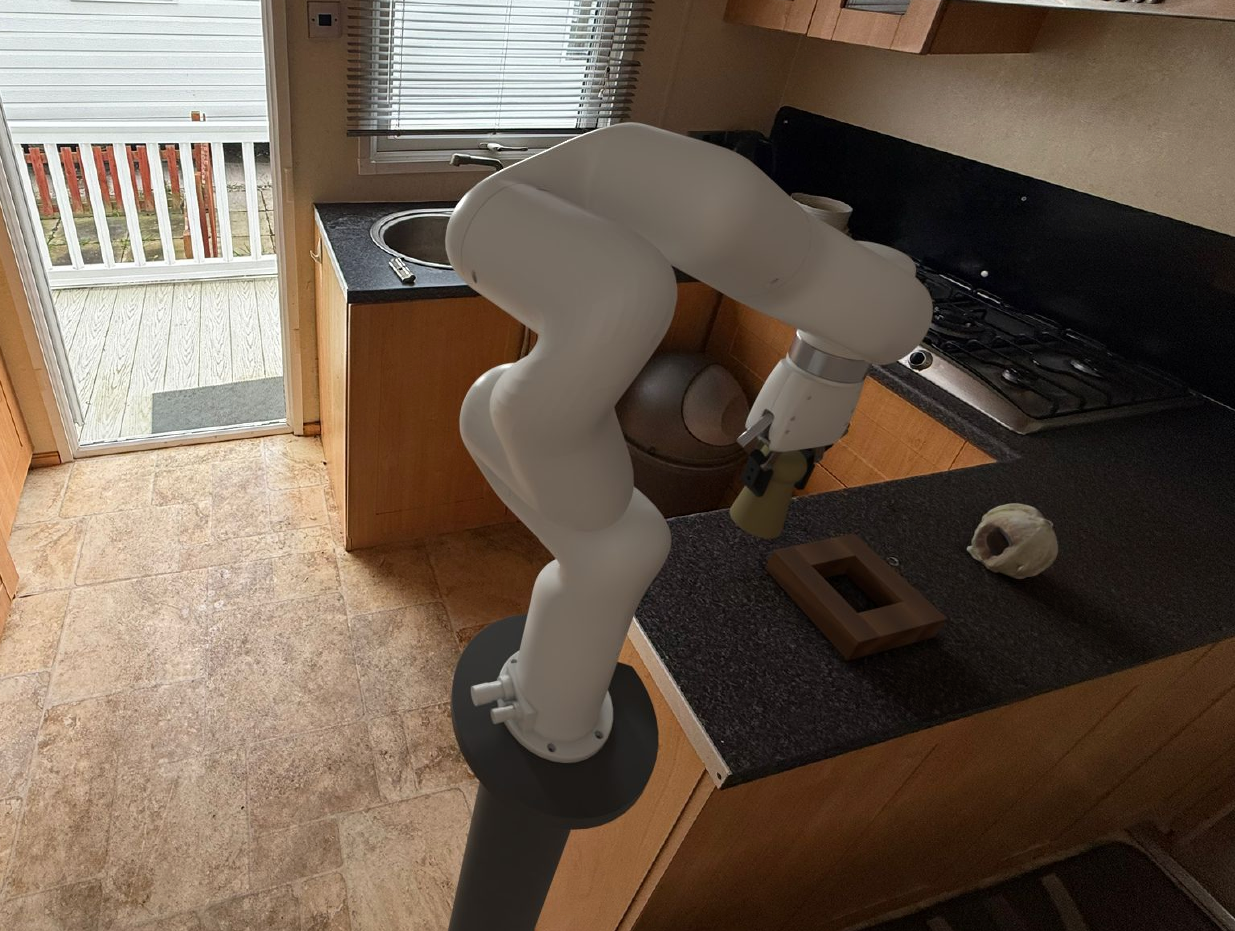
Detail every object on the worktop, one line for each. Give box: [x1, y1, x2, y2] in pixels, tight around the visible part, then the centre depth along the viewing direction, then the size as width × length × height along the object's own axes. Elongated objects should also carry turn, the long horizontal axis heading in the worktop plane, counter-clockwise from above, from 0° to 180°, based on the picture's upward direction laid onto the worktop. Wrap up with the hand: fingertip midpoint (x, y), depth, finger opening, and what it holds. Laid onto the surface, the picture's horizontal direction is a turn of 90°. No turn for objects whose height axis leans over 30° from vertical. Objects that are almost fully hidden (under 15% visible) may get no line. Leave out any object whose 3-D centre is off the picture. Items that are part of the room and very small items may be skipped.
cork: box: [729, 445, 807, 540], centre depth 79 cm, size 6×6×11 cm
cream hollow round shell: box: [966, 503, 1059, 580], centre depth 90 cm, size 9×8×10 cm
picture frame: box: [764, 533, 948, 662], centre depth 84 cm, size 14×14×4 cm
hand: (771, 484), depth 79 cm, fingers closed on cork, 5 cm apart
